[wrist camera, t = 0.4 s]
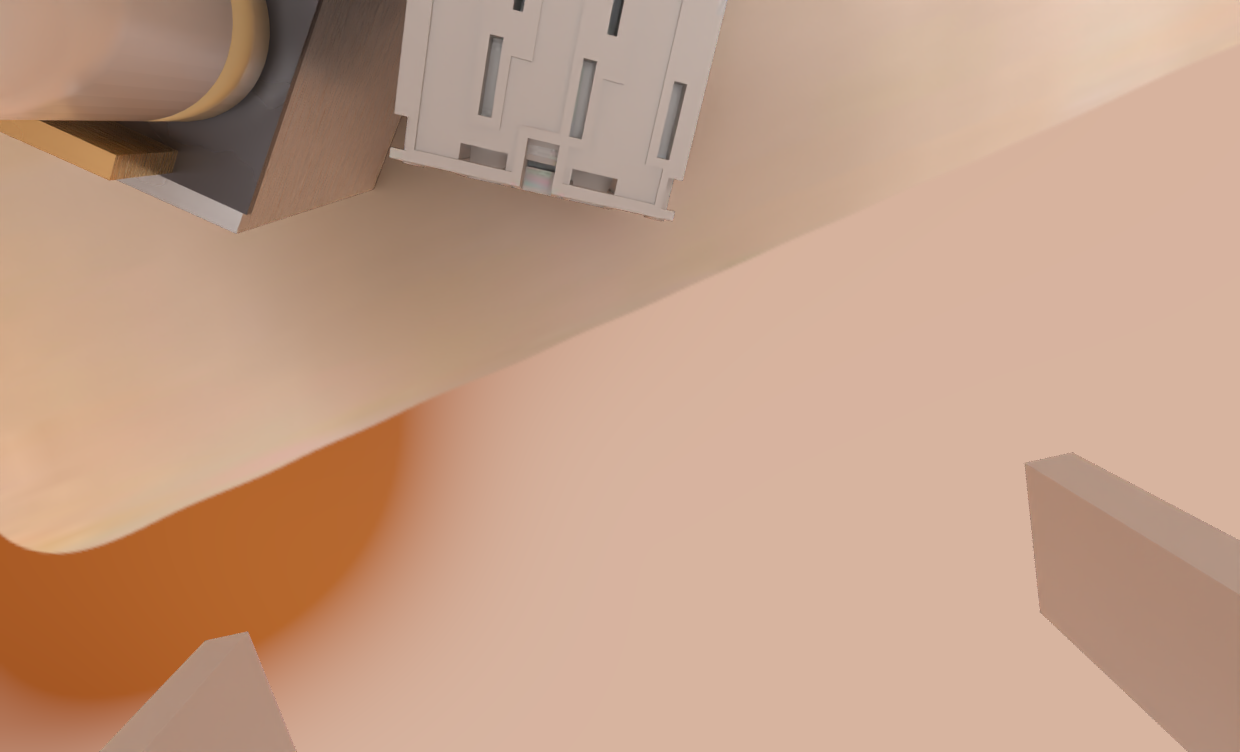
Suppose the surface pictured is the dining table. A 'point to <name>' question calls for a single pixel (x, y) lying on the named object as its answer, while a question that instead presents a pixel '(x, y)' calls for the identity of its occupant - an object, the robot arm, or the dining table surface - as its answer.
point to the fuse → (129, 58)
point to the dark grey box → (263, 123)
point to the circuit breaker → (558, 94)
